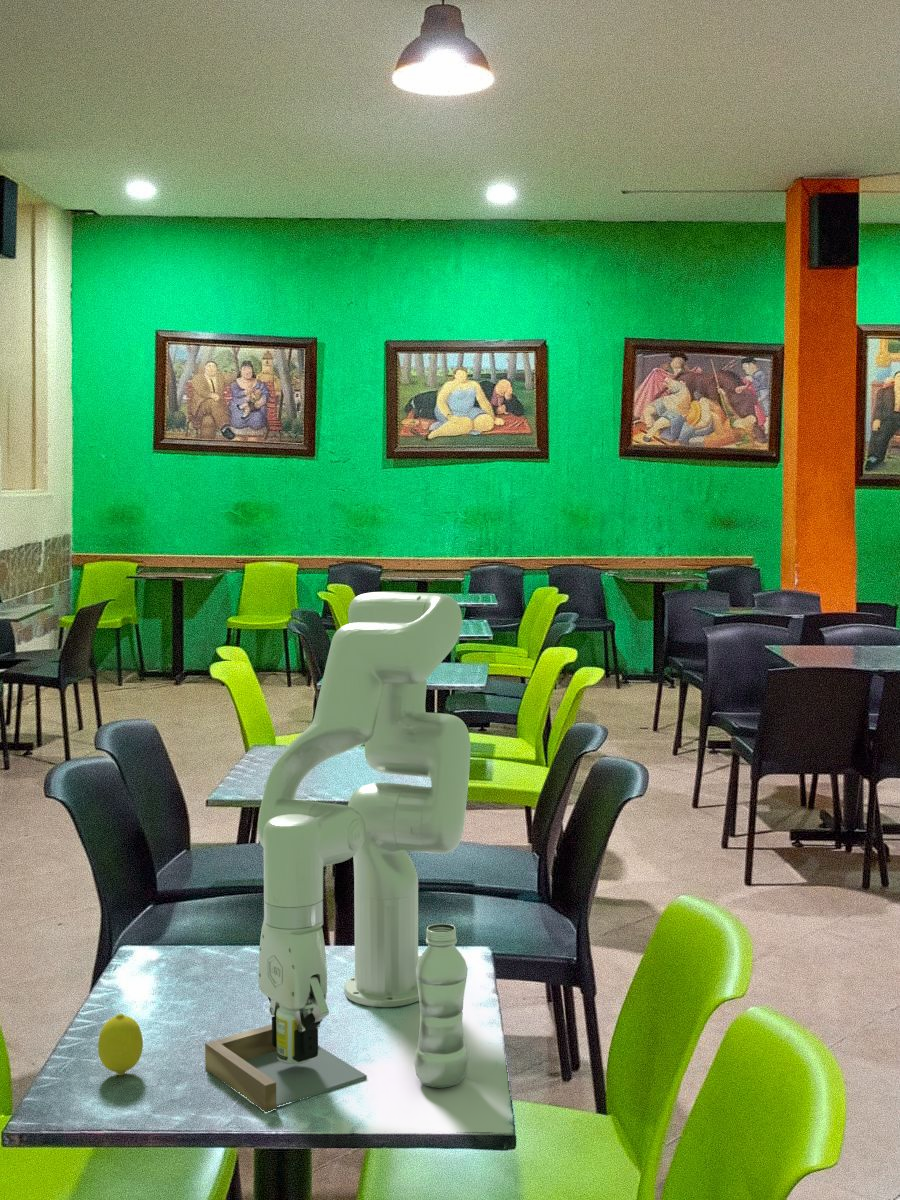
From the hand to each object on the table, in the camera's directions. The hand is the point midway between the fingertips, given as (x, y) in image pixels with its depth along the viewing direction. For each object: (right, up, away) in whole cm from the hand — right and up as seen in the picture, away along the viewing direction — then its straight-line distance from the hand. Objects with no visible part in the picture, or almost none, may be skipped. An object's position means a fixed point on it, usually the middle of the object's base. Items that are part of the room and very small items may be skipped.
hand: (294, 1050), depth 167 cm
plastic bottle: (+19, -3, -3) cm, 19 cm away
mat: (0, -3, 0) cm, 3 cm away
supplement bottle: (0, -1, 0) cm, 1 cm away
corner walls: (-1, -3, 0) cm, 3 cm away
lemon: (-22, -3, -1) cm, 22 cm away
